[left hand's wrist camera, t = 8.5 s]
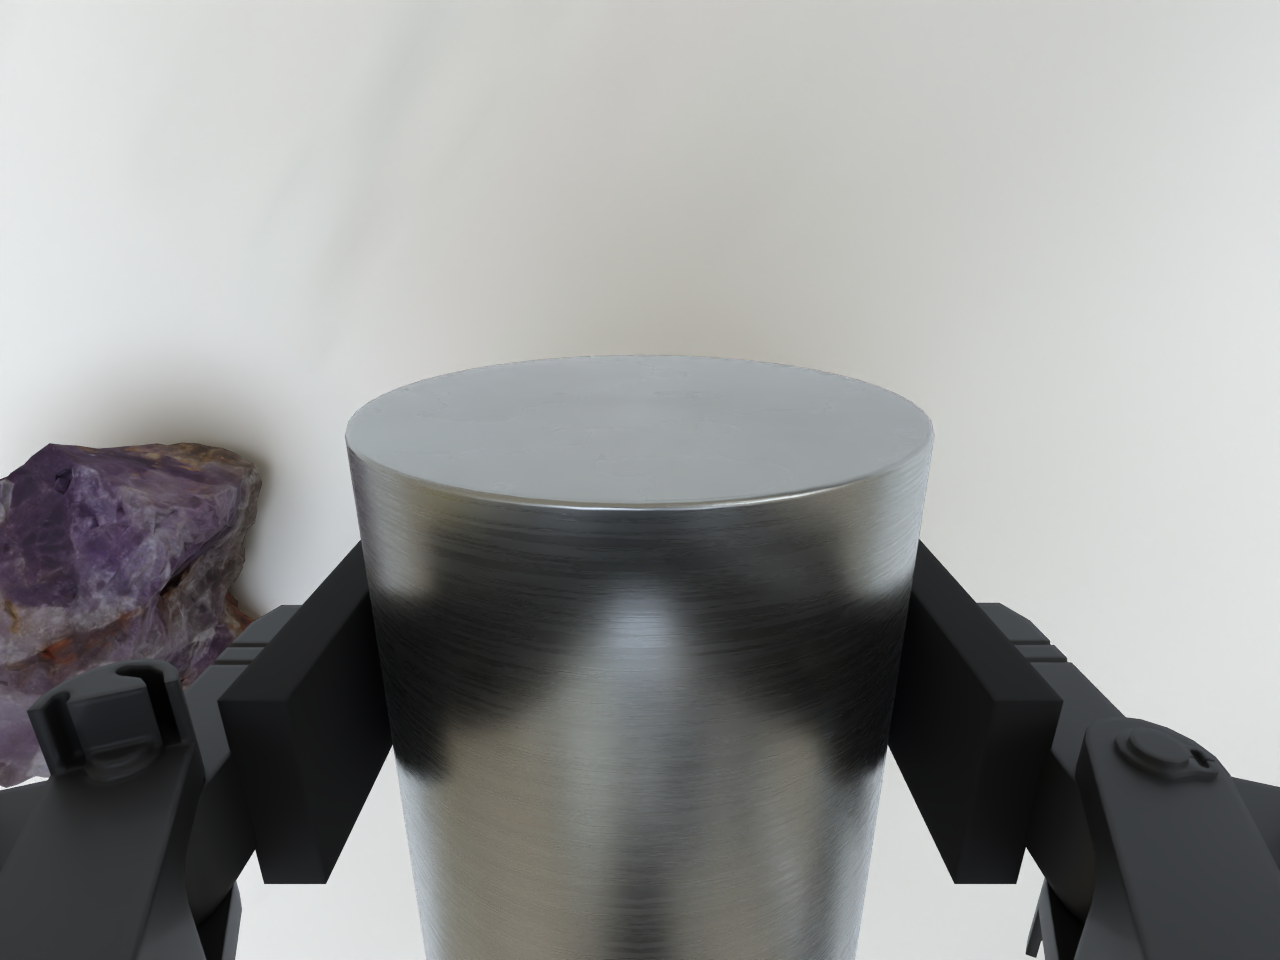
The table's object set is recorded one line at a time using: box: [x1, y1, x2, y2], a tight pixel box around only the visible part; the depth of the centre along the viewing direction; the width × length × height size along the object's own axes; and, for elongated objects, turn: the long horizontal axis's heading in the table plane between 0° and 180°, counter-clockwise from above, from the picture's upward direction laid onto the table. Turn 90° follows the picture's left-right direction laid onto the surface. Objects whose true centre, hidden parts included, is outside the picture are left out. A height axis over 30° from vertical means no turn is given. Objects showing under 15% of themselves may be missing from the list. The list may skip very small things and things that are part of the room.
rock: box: [0, 443, 262, 788], centre depth 24 cm, size 12×9×10 cm
